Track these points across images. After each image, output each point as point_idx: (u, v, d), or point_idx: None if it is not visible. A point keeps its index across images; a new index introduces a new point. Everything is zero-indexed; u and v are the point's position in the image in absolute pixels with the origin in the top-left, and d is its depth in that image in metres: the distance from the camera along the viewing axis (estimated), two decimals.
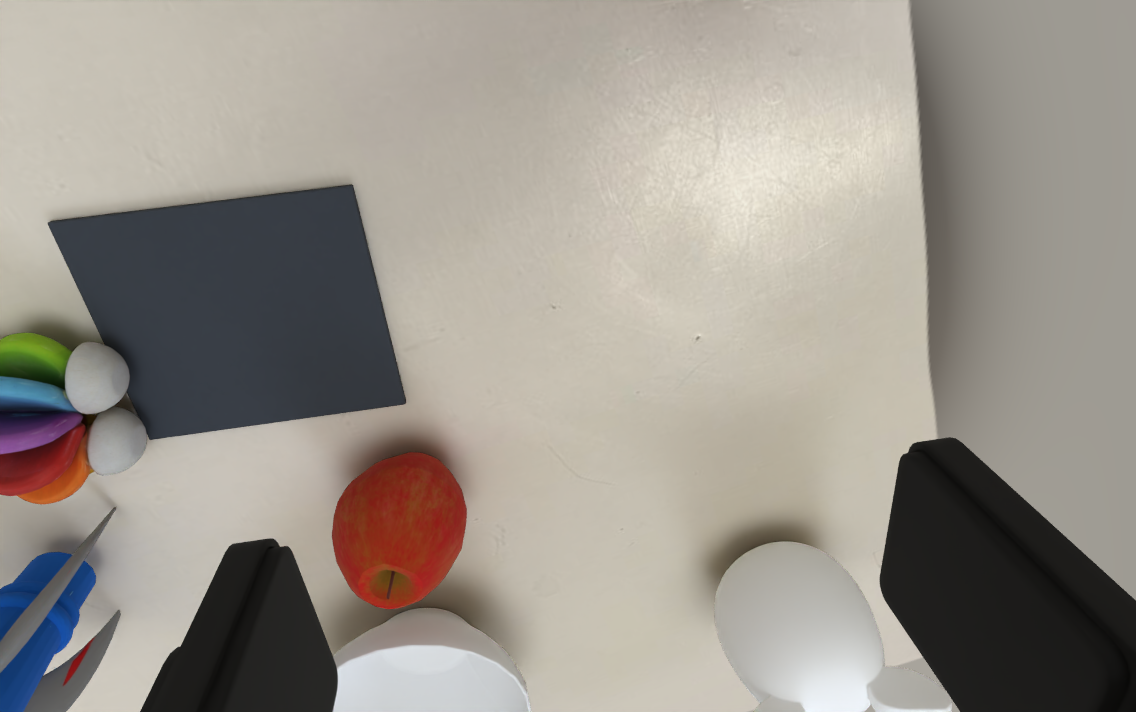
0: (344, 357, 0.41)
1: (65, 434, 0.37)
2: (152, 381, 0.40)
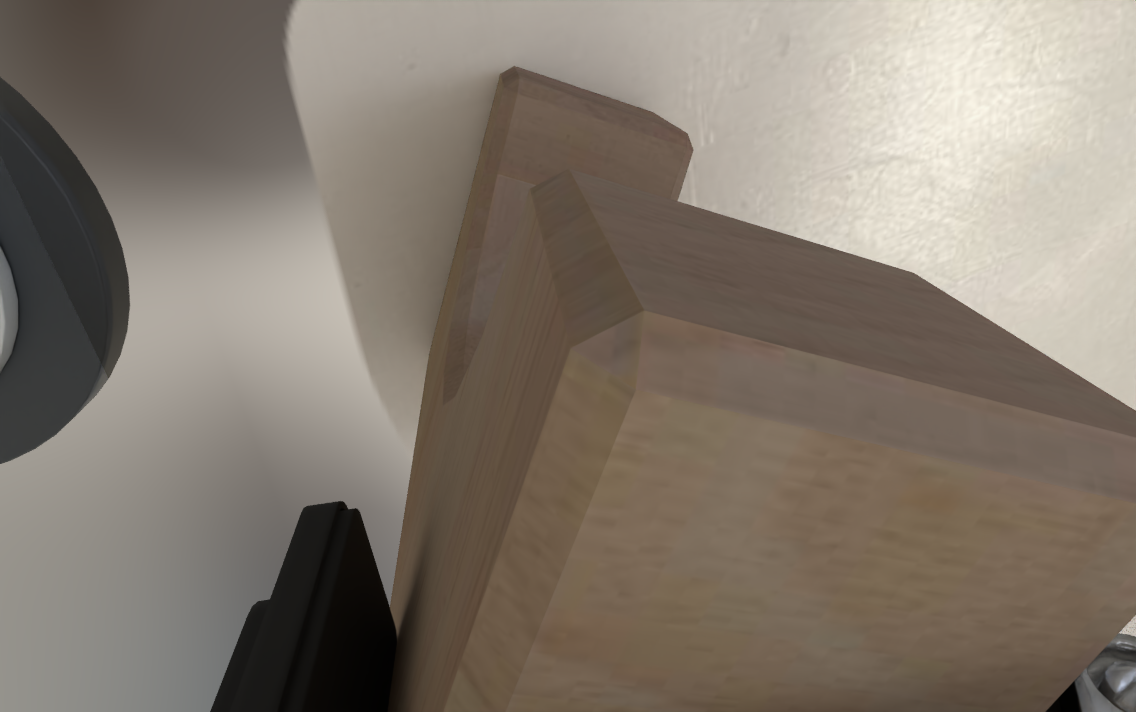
0: None
1: None
2: None
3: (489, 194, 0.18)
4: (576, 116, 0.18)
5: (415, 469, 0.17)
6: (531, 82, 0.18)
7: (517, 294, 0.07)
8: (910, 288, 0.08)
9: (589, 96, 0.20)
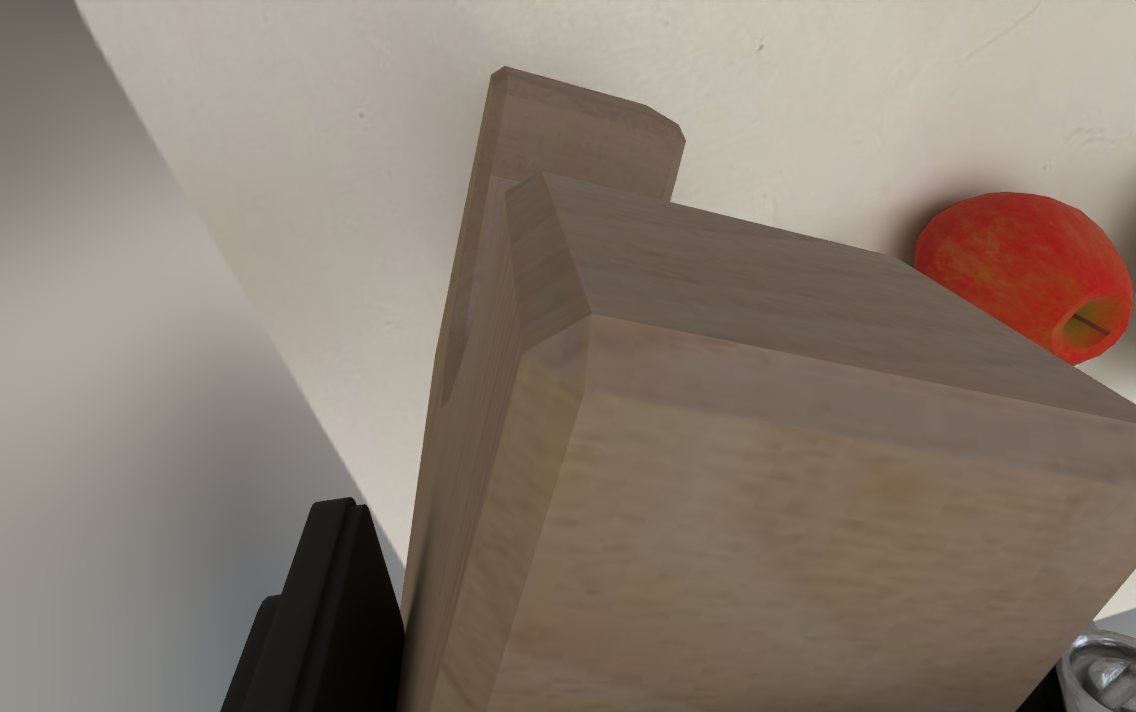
0: None
1: None
2: None
3: (483, 195, 0.18)
4: (566, 114, 0.18)
5: (421, 472, 0.17)
6: (519, 82, 0.18)
7: (492, 298, 0.07)
8: (888, 274, 0.08)
9: (579, 92, 0.20)
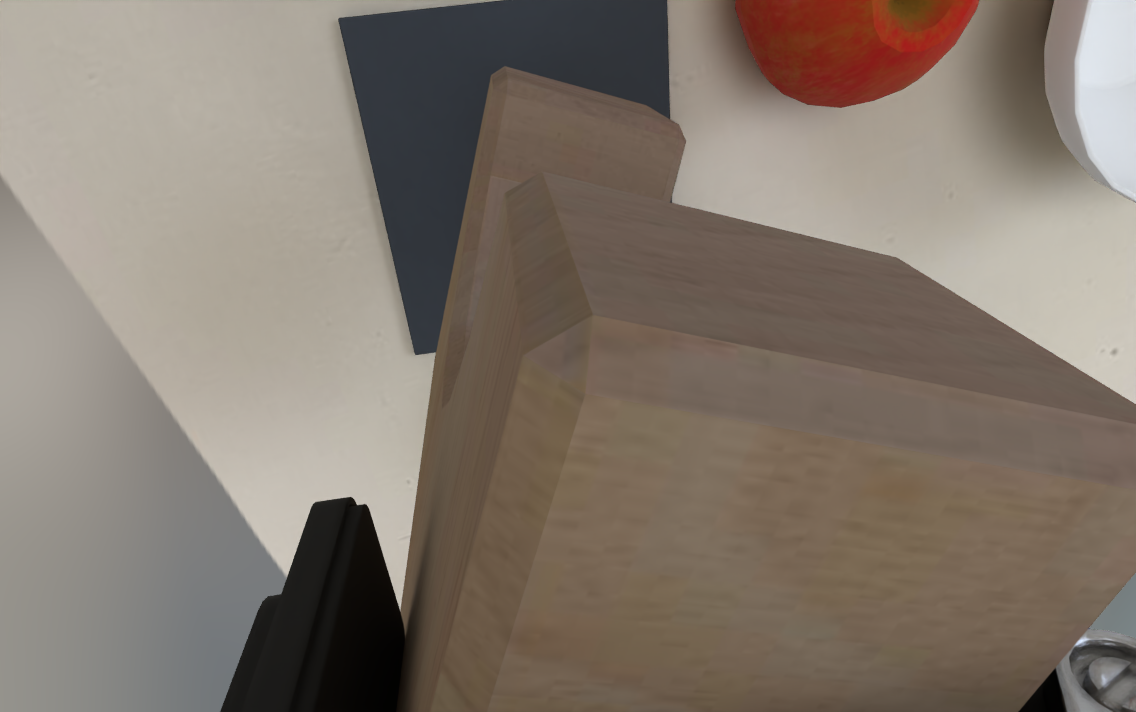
0: (583, 66, 0.30)
1: None
2: None
3: (483, 196, 0.18)
4: (566, 114, 0.18)
5: (422, 472, 0.17)
6: (520, 82, 0.18)
7: (492, 299, 0.07)
8: (889, 274, 0.08)
9: (580, 92, 0.19)
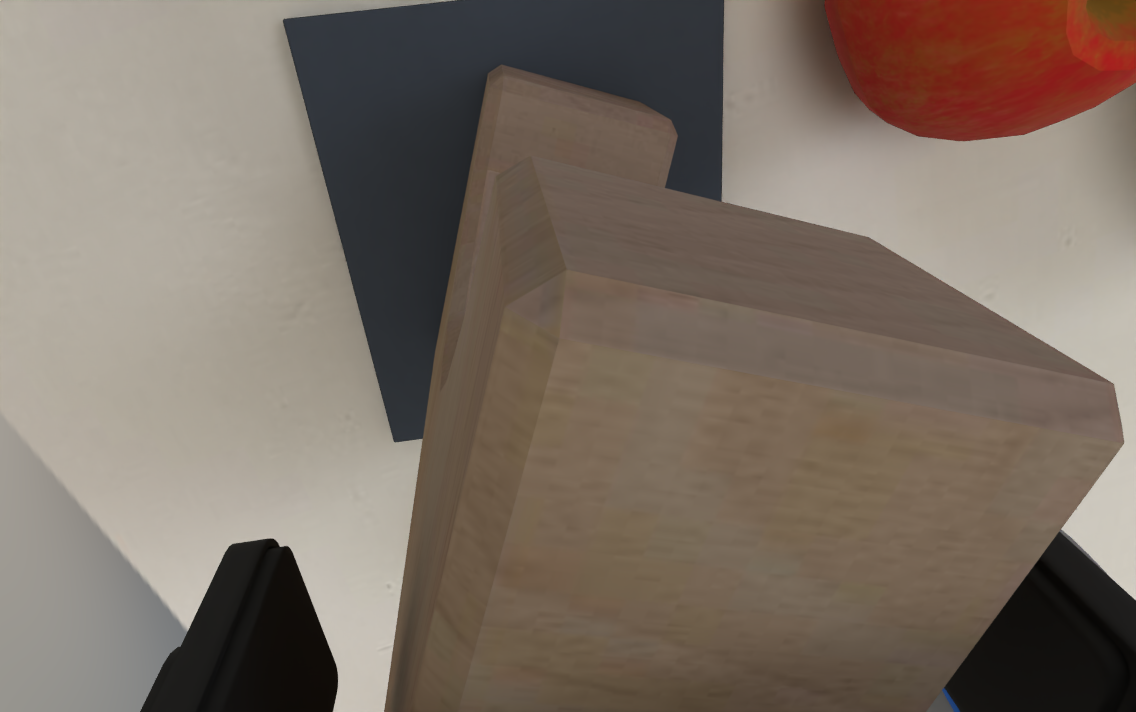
0: (611, 82, 0.23)
1: None
2: None
3: (480, 189, 0.18)
4: (560, 110, 0.18)
5: (422, 458, 0.18)
6: (515, 79, 0.18)
7: (483, 273, 0.07)
8: (858, 250, 0.08)
9: (574, 89, 0.20)
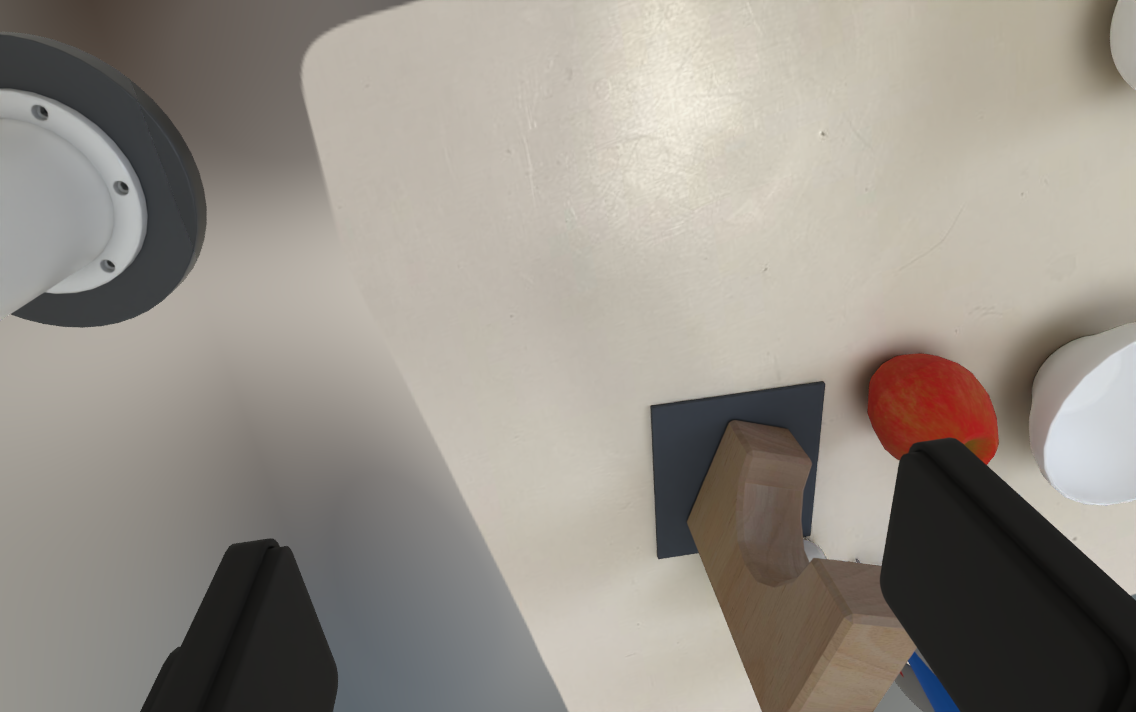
0: (776, 421, 0.54)
1: None
2: None
3: (742, 490, 0.50)
4: (772, 461, 0.50)
5: (724, 589, 0.49)
6: (756, 450, 0.50)
7: (816, 589, 0.39)
8: None
9: (770, 440, 0.52)
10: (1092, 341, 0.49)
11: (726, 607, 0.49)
